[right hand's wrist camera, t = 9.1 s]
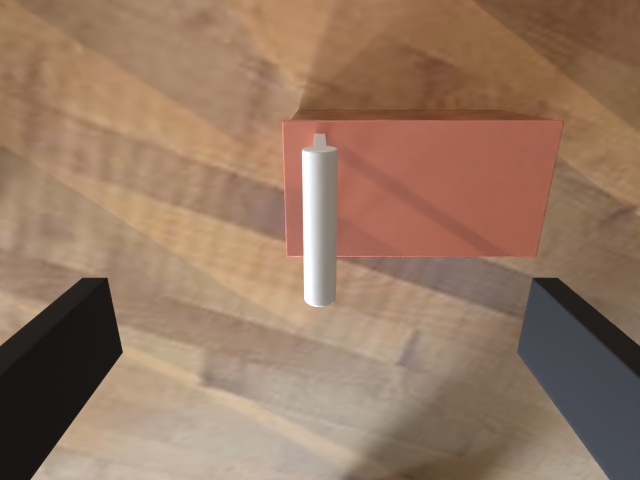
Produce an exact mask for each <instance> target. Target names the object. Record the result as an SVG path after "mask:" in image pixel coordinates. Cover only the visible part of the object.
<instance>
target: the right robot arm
mask: <svg viewBox="0 0 640 480" xmlns="http://www.w3.org/2000/svg"><path fill="white" fill-rule="evenodd" d="M122 353H123V351H122V346H121V341H120V337H119V332H118V327H117V322H116V317H115V312H114V308H113V303H112V298H111V293H110V288H109V284H108V279H107V278H82V279H81V280H79V281H78V282H77V283H76V284H75V285H73V286H72V287H71V288H70V289H69V290H67V291H66V292H65V293H64V294H62V295H61V296H60V297H59V298H58V299H56V300H55V301H54V302H53V303H52V304H50V305H49V306H48V307H47V308H46V309H44V310H43V311H42V312H41V313H40V314H38V315H37V316H36V317H35V318H34V319H32V320H31V321H30V322H29V323H28V324H26V325H25V326H24V327H23V328H22V329H20V330H19V331H18V332H17V333H16V334H14V335H13V336H12V337H11V338H10V339H8V340H7V341H6V342H5V343H4V344H2V345H1V346H0V480H31V478H32V477H33V475H34V474H35V473H36V471H37V470H38V469H39V467H40V466H41V464H42V463H43V462H44V460H45V459H46V458H47V456H48V455H49V453H50V452H51V451H52V449H53V448H54V446H55V445H56V444H57V442H58V441H59V440H60V438H61V437H62V435H63V434H64V433H65V431H66V430H67V429H68V427H69V426H70V424H71V423H72V422H73V420H74V419H75V418H76V416H77V415H78V413H79V412H80V411H81V409H82V408H83V407H84V405H85V404H86V402H87V401H88V400H89V398H90V397H91V395H92V394H93V393H94V391H95V390H96V389H97V387H98V386H99V384H100V383H101V382H102V380H103V379H104V378H105V376H106V375H107V373H108V372H109V371H110V369H111V368H112V367H113V365H114V364H115V362H116V361H117V360H118V358H119V357H120V356H121V354H122ZM517 353H518V354H519V356H520V357H521V358H522V360H523V361H524V362H525V364H526V365H527V367H528V368H529V369H530V371H531V372H532V373H533V375H534V376H535V378H536V379H537V380H538V382H539V383H540V384H541V386H542V387H543V389H544V390H545V391H546V393H547V394H548V395H549V397H550V398H551V400H552V401H553V402H554V404H555V405H556V407H557V408H558V409H559V411H560V412H561V413H562V415H563V416H564V418H565V419H566V420H567V422H568V423H569V424H570V426H571V427H572V429H573V430H574V431H575V433H576V434H577V435H578V437H579V438H580V440H581V441H582V442H583V444H584V445H585V446H586V448H587V449H588V451H589V452H590V453H591V455H592V456H593V458H594V459H595V460H596V462H597V463H598V464H599V466H600V467H601V469H602V470H603V471H604V473H605V474H606V475H607V477H608V478H609V480H640V346H639V345H638V344H636V343H635V342H634V341H633V340H632V339H630V338H629V337H628V336H627V335H626V334H624V333H623V332H622V331H621V330H620V329H618V328H617V327H616V326H615V325H614V324H612V323H611V322H610V321H609V320H608V319H606V318H605V317H604V316H603V315H602V314H600V313H599V312H598V311H597V310H596V309H594V308H593V307H592V306H591V305H590V304H588V303H587V302H586V301H585V300H584V299H582V298H581V297H580V296H579V295H578V294H576V293H575V292H574V291H573V290H571V289H570V288H569V287H568V286H567V285H565V284H564V283H563V282H562V281H561V280H559V279H558V278H533V279H532V284H531V288H530V293H529V298H528V303H527V308H526V312H525V317H524V322H523V327H522V332H521V337H520V341H519V346H518V351H517Z"/></svg>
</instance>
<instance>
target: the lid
mask: <svg viewBox="0 0 640 480" xmlns="http://www.w3.org/2000/svg"><path fill="white" fill-rule="evenodd" d="M563 124H564V122H563V121H559V120H284V121H283V122H282V128H283V160H284V191H285V222H286V253H287V257H304V299H305V301H306V302H307V303H308V304H310V305H312V306H319V307H321V306H328V305H330V304H332V303H333V302H334V301H335V299H336V257H536V255H537V250H538V245H539V240H540V235H541V231H542V226H543V221H544V216H545V211H546V206H547V201H548V197H549V192H550V187H551V182H552V177H553V172H554V168H555V163H556V158H557V153H558V148H559V143H560V138H561V134H562V129H563Z"/></svg>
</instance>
